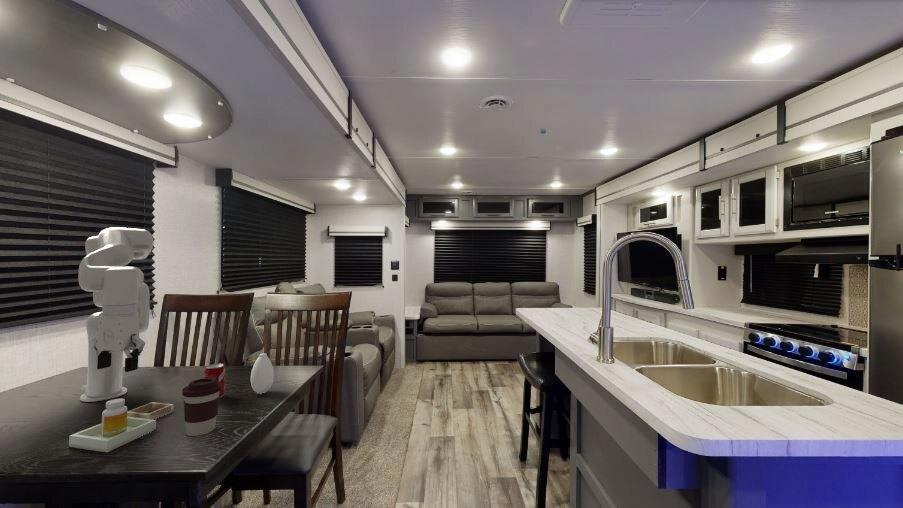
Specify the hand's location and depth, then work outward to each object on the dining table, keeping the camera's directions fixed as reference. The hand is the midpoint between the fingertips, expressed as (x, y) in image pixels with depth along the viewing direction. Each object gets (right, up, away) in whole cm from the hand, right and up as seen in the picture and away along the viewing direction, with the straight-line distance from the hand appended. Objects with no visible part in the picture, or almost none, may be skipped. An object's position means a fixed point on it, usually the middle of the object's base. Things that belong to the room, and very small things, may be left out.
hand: (117, 369), depth 103 cm
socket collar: (-3, -20, +14) cm, 25 cm away
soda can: (+8, -21, +30) cm, 38 cm away
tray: (0, -20, -1) cm, 20 cm away
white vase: (+23, -21, +36) cm, 47 cm away
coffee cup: (+21, -20, +5) cm, 30 cm away
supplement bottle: (-1, -19, 0) cm, 19 cm away
